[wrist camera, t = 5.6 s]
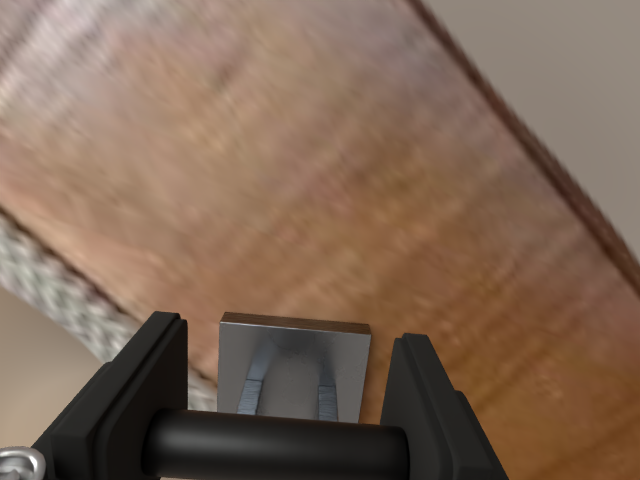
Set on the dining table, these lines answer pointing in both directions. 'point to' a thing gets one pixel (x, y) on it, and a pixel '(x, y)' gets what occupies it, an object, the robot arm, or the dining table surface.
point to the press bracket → (291, 367)
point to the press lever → (270, 448)
